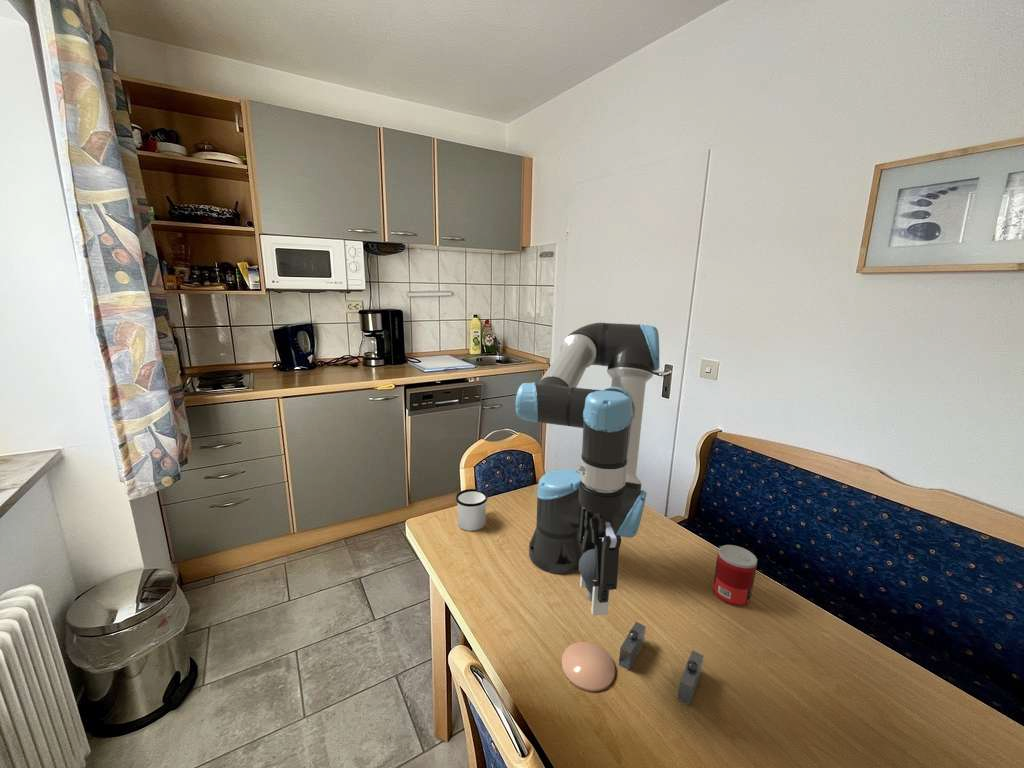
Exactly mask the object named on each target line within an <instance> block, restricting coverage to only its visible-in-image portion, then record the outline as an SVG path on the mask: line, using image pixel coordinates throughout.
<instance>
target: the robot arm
mask: <svg viewBox="0 0 1024 768" xmlns="http://www.w3.org/2000/svg"><path fill="white" fill-rule="evenodd" d="M659 335H660V334H659V331H658V328H657V327H655V326H654V325H648V324H641V323H638V324H637V323H636V324H634V323H615V322H614V323H610V322H594V323H589V324H586V325H584V326H581V327H579V328H578V329H574V331H572V332H571V333H569V334H568V335H567V336H566V337H565V338H564V339H563V340H562V342H561V345H560V347H559V353H558V354H557V356H556V357H555V359H554V360H553V362H552V363H551V365H550V366H549V367H548V369H547V370H546V372H545V373H544V374H543V375H542V378H541V379H540V380H539V382H538V383H536V382H534V381H533V382H524V383H521V384H520V386H519V387H518V389H517V392H516V395H515V412H516V416H517V417H518V418H519V419H520V420H523V421H528V422H533V423H535V424H537V423H538V424H539V423H541V424H548V425H555V426H556V425H557V426H566V427H571V428H579V429H582V445H581V447H582V448H581V450H582V451H581V455H580V456H581V457H580V458H581V459H580V460H581V461H580V465H578V467H577V470H576V469H575V470H574V469H569V468H561V469H556V470H552V471H548V472H547V473H545V474H543V475H542V476H540V479H538V480H539V481H538V486H537V492H536V497H537V498H536V499H537V500H536V527H535V529H534V532H533V534H532V536H531V539H530V541H529V544H528V545H529V546H528V557H529V559H530V561H531V562H532V563H533V565H535V566H536V567H537V568H539V569H541V570H542V571H544V572H549V573H551V574H552V573H553V574H562V575H564V574H570V573H573V572H576V571H577V570H578V571H579V560H580V558H581V556H582V555H583V554H584V553H585V552H586V551H588V550H591V549H595V563H596V580H594V581H592V585H593V595H592V601H591V610H590V611H591V615H592V616H593V617H594V616H604V615H608V613H609V601H610V591H612V590H613V591H615V590H617V589H618V574H619V561H620V560H619V558H620V547H621V544H622V537H624V538H630V539H631V538H634V537H635V536H637V534H638V531H639V528H640V524H641V520H642V516H643V512H644V509H645V508H644V507H645V502H646V499H647V492H646V491H645V490H643V489H642V482H641V480H640V479H639V478H638V477H637V476H638V475H637V470H638V461H639V450H640V440H641V430H642V421H643V413H644V412H643V410H644V402H645V394H646V393H645V392H646V383H647V382H648V381H649V380H650V379H652V378H653V376H654V371H655V372H656V371H658V370H660V366H661V365H660V363H661V362H660V361H661V360H660V336H659ZM590 366H602V367H607V369H606V373H607V374H608V376H609V377H610V378H611V386H610V387H607V388H604V389H592V388H581V387H578V385H579V383H580V381H581V380H582V377H583V375H584V373H585V372H586V369H587V368H589V367H590ZM578 471H579V472H578ZM579 582H580V583H579V587H580V588H581V589H586V586H585V581H584V580H583V578H582V576H581V575H580V581H579Z"/></svg>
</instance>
